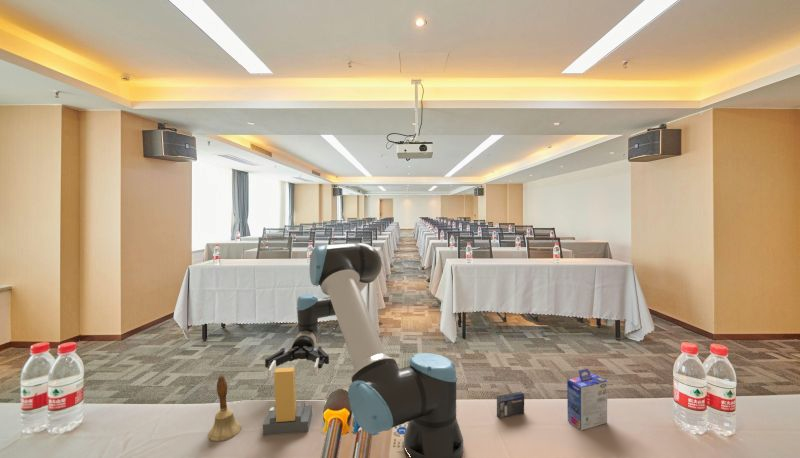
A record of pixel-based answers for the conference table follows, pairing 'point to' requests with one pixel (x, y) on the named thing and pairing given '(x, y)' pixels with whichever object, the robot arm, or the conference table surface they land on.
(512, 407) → the mini dv tape
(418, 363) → the robot arm
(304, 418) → the stepped grey plinth
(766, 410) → the conference table surface
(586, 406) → the ink cartridge box
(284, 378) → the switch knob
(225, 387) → the hand bell
